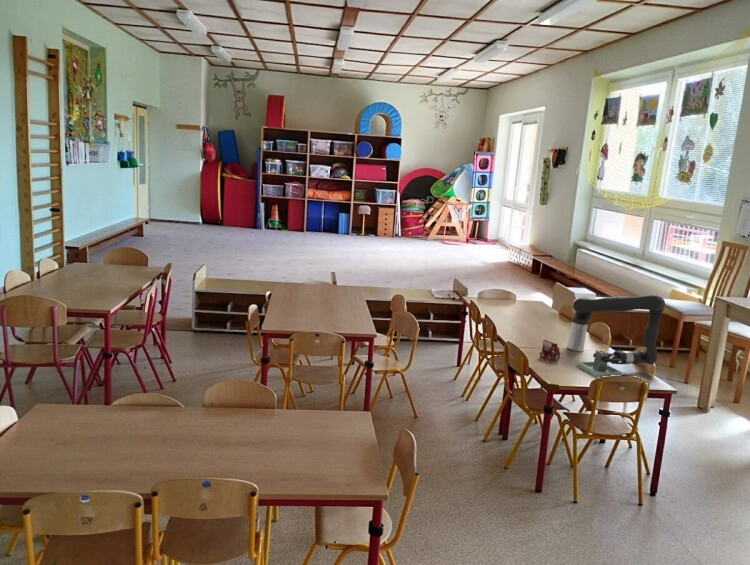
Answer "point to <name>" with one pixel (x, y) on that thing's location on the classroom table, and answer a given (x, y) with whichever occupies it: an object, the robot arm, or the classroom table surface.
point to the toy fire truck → (550, 351)
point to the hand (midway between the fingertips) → (598, 357)
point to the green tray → (589, 369)
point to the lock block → (600, 361)
